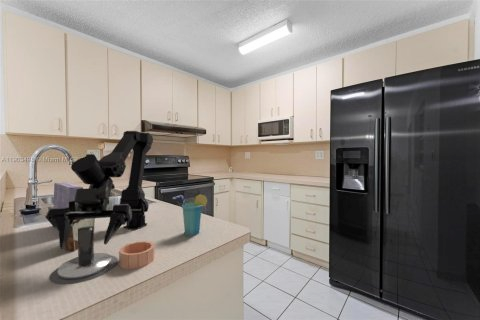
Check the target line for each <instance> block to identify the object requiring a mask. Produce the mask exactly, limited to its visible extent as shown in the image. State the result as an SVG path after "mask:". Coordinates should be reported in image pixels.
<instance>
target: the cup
mask: <svg viewBox="0 0 480 320" xmlns="http://www.w3.org/2000/svg"><path fill="white" fill-rule="evenodd" d="M179 198H181V201H182V202H183V203H182V204H181V208H182V214H183V227H184V229H183V230H184V234H185V235H186V236H197V235H198V234H200V229H201V218H202V209H203V208H204V207H206V205H207V203H208V198H207V196H206V195H205V194H204V195H203V194H198V195H196V196H195V198H194V201H193V202H186V200H185V197H184V195H181V194H178V195H177V196H173V197H172V199H171V200H173V201H174V200H176V199H179Z"/></svg>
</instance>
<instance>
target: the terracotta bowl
mask: <svg viewBox="0 0 480 320" xmlns="http://www.w3.org/2000/svg"><path fill="white" fill-rule="evenodd" d="M155 247H156V246H155V243H154V242H152V241H147V240H144V241H143V240H141V241H135V242H130V243H127V244H125V245H123V246H122V247H121V248H120V249H119V250H118V265H119V267H121V268H122V269H126V270H132V269H139V268H143V267H145V266H146V267H147V266H148V265H150V264H151V263H153V262H154V260H155V257H156V256H155V254H156V252H155V251H156V250H155V249H156V248H155Z"/></svg>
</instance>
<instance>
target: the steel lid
mask: <svg viewBox="0 0 480 320" xmlns="http://www.w3.org/2000/svg"><path fill="white" fill-rule="evenodd" d="M94 239H95V226H94V227H92V226H87V227H82V228H79V229H78V249H77V256H75V257H74V258H71V259H69V260H67V261H65V262H64V263H62V264H61V265H60V266H59V267H57V268H58V277H59V278H60V279H62V280H78V279H83V278H87V277H90V276H93V275H96V274H98V273H100V272H102V271H104V270H106V269H107V268H108V267H109V266H110V265H111V263H112V258H111V254H109V253H105V252H94V251H95V247H94V245H95V243H94V242H95V241H94Z"/></svg>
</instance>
